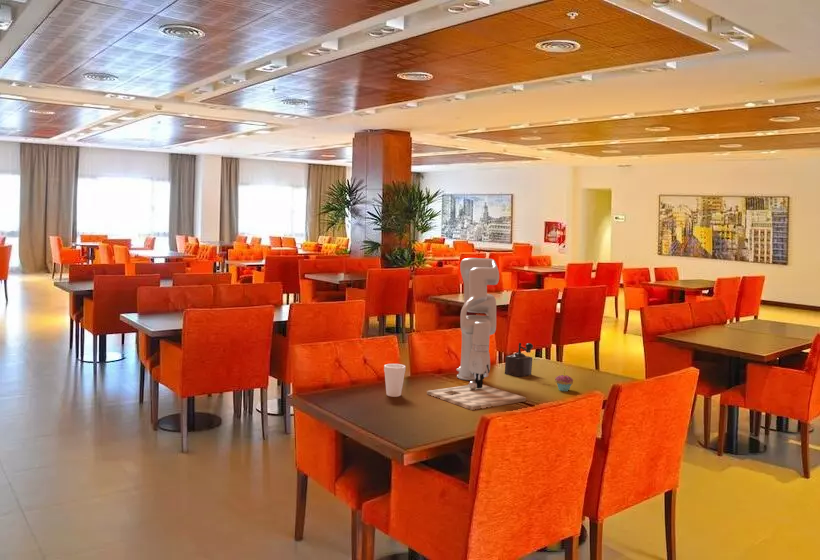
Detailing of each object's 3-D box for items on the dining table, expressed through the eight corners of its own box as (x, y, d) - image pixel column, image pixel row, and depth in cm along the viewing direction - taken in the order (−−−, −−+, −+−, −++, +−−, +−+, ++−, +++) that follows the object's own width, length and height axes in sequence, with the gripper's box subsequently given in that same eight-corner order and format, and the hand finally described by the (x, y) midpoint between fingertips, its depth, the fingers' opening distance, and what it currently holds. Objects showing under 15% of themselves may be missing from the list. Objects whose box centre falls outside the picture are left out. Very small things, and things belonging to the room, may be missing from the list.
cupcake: (572, 392, 331) (574, 367, 330) (554, 391, 332) (555, 366, 331) (572, 388, 339) (573, 364, 338) (554, 387, 341) (555, 362, 340)
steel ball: (467, 390, 323) (465, 382, 321) (473, 386, 325) (472, 378, 324) (473, 392, 320) (471, 384, 318) (479, 388, 322) (478, 380, 320)
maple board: (426, 394, 316) (427, 390, 316) (479, 386, 335) (479, 383, 335) (471, 410, 292) (472, 406, 292) (525, 400, 312) (526, 397, 312)
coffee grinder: (503, 373, 367) (505, 339, 365) (515, 371, 375) (517, 337, 373) (528, 379, 356) (530, 344, 355) (540, 376, 364) (542, 341, 363)
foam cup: (393, 398, 306) (395, 369, 305) (378, 394, 312) (379, 365, 311) (408, 395, 313) (409, 366, 312) (393, 391, 319) (394, 362, 318)
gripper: (463, 346, 326) (461, 385, 327) (486, 351, 314) (484, 392, 316) (475, 345, 331) (473, 383, 332) (498, 350, 319) (496, 390, 320)
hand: (478, 387), depth 324 cm, fingers closed
